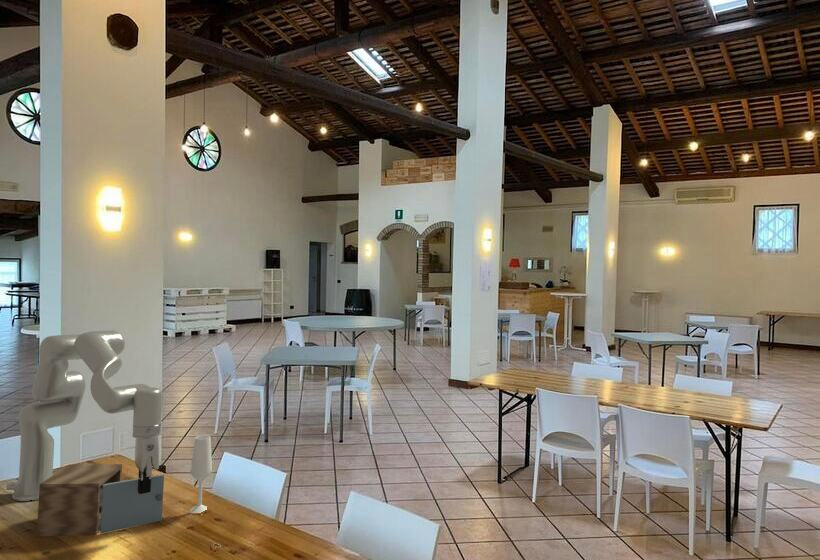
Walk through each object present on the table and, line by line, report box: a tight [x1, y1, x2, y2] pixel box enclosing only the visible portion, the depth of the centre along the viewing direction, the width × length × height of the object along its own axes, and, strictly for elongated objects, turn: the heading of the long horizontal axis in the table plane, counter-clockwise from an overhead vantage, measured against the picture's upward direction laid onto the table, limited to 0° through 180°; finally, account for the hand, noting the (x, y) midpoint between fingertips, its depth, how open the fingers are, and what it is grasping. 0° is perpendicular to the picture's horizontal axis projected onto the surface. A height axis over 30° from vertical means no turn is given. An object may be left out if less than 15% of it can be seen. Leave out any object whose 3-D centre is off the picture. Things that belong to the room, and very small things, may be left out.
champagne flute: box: [189, 434, 213, 514], centre depth 173 cm, size 7×7×24 cm
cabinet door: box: [98, 473, 165, 535], centre depth 159 cm, size 2×17×14 cm, turn 128°
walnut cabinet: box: [36, 463, 123, 537], centre depth 161 cm, size 16×17×15 cm
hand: (144, 492), depth 156 cm, fingers closed
